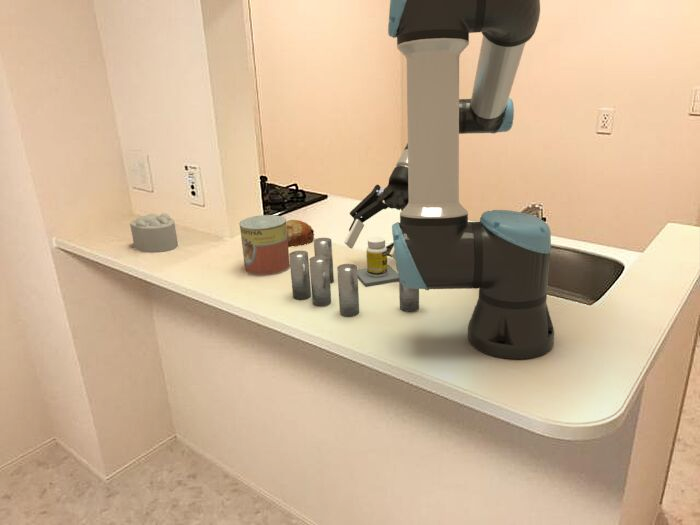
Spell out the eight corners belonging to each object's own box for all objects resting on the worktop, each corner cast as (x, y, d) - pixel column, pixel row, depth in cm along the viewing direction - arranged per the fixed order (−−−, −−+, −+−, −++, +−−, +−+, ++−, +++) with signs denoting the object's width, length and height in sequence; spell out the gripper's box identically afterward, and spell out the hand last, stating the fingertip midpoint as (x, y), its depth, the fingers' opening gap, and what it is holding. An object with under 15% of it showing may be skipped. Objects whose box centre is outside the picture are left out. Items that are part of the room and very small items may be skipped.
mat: (402, 280, 137) (402, 277, 137) (365, 286, 135) (365, 283, 135) (388, 267, 145) (388, 264, 145) (353, 273, 143) (353, 270, 143)
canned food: (236, 268, 150) (230, 222, 146) (273, 256, 157) (269, 212, 153) (260, 279, 142) (255, 231, 138) (299, 267, 149) (295, 220, 144)
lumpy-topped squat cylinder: (161, 237, 177) (156, 209, 174) (187, 245, 169) (182, 215, 166) (129, 247, 170) (124, 217, 167) (154, 256, 162) (149, 225, 159)
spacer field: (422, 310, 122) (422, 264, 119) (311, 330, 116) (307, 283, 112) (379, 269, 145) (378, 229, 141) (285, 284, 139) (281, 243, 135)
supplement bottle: (386, 277, 137) (385, 243, 134) (365, 277, 138) (364, 242, 135) (388, 270, 142) (388, 236, 139) (369, 269, 143) (367, 236, 140)
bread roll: (285, 248, 174) (271, 225, 171) (316, 231, 173) (302, 208, 170) (285, 260, 164) (270, 236, 162) (318, 242, 164) (304, 217, 161)
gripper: (460, 189, 136) (421, 270, 131) (376, 176, 152) (339, 248, 147) (447, 170, 130) (406, 254, 125) (361, 159, 146) (322, 233, 141)
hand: (370, 251), depth 136 cm, fingers open, 13 cm apart
